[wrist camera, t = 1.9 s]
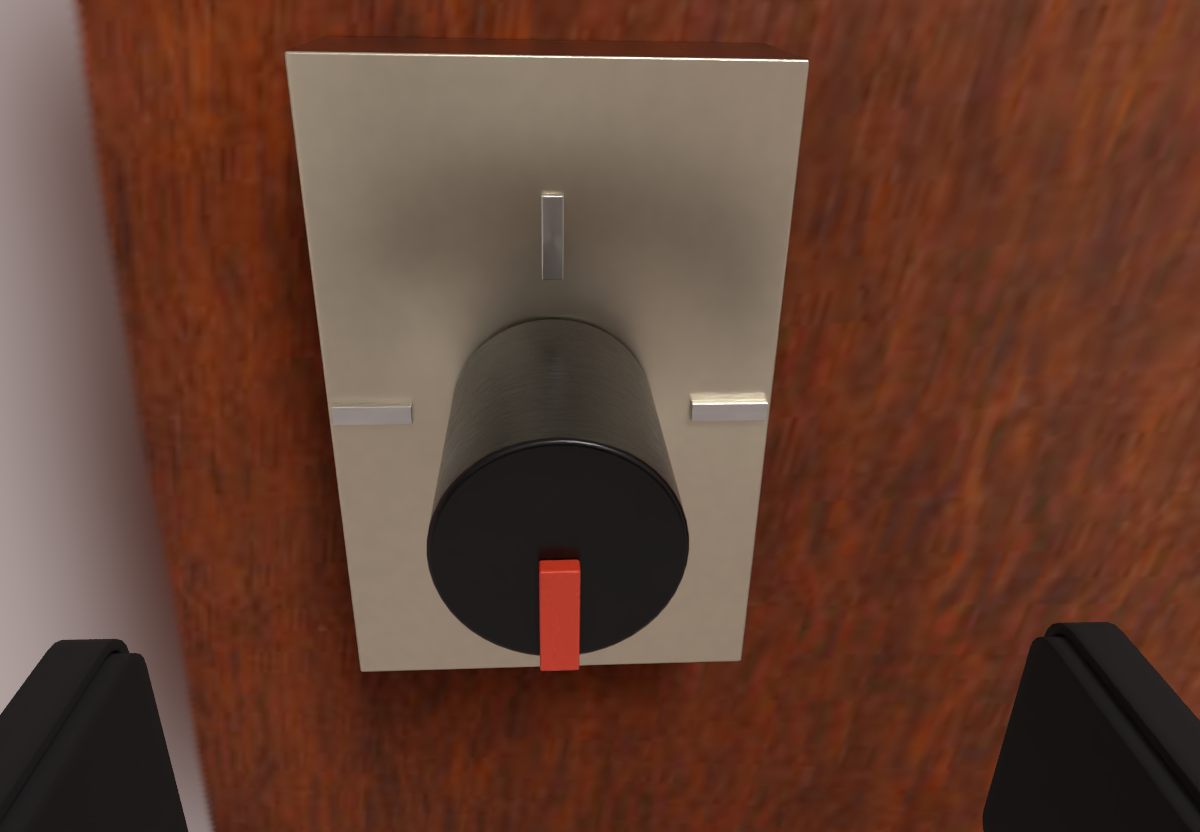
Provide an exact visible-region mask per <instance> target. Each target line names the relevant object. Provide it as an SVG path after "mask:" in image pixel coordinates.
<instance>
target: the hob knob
mask: <svg viewBox="0 0 1200 832" xmlns="http://www.w3.org/2000/svg"><path fill="white" fill-rule="evenodd" d="M688 554H689V532H688V526H687V520H686V517H685V513H684V509H683V506H682V502H681V498H680V495H679V491H678V487H677V484H676V480H675V477H674V473H673V469H672V466H671V462H670V458H669V455H668V451H667V447H666V444H665V440H664V436H663V433H662V429H661V425H660V422H659V418H658V414H657V411H656V407H655V404H654V400H653V396H652V393H651V389H650V386H649V383H648V380H647V377H646V375H645V373H644V371H643V369H642V367H641V365H640V364H639V363H638V361H637V360H636V358H635V357H634V356H633V355H632V353H631V352H630V351H629V350H628V349H627V348H626V347H625V346H624V345H623V344H621V343H620V342H619V341H618V340H617V339H615V338H614V337H612V336H610V335H609V334H607V333H606V332H604V331H601V330H599V329H597V328H595V327H593V326H590V325H586V324H583V323H580V322H575V321H569V320H558V319H548V320H537V321H532V322H527V323H523V324H520V325H517V326H514V327H511V328H509V329H507V330H505V331H503V332H501V333H499V334H497V335H496V336H494V337H493V338H491V339H490V340H488V341H487V342H486V343H485V344H484V345H482V346H481V347H480V348H479V349H478V350H477V351H476V352H475V353H474V354H473V355H472V357H471V358H470V359H469V361H468V362H467V364H466V365H465V366H464V368H463V370H462V372H461V374H460V376H459V378H458V380H457V384H456V387H455V390H454V394H453V400H452V405H451V410H450V416H449V421H448V427H447V432H446V437H445V443H444V448H443V453H442V459H441V464H440V470H439V475H438V480H437V486H436V491H435V497H434V502H433V507H432V513H431V518H430V524H429V529H428V535H427V561H428V568H429V572H430V575H431V578H432V581H433V584H434V586H435V588H436V590H437V592H438V594H439V596H440V598H441V599H442V601H443V602H444V603H445V605H446V606H447V608H448V609H449V611H450V612H451V613H452V614H453V615H454V616H455V617H456V618H457V619H458V620H459V621H460V622H461V623H462V624H463V625H465V626H466V627H467V628H468V629H469V630H471V631H472V632H474V633H475V634H477V635H478V636H480V637H482V638H483V639H485V640H487V641H489V642H491V643H493V644H495V645H497V646H500V647H503V648H506V649H509V650H512V651H516V652H520V653H524V654H529V655H537V656H540V670H541V671H564V670H578V669H579V656H580V654H585V653H591V652H594V651H598V650H601V649H604V648H607V647H610V646H612V645H615V644H617V643H619V642H622V641H623V640H625V639H627V638H629V637H631V636H633V635H634V634H636V633H637V632H639V631H640V630H641V629H643V628H644V627H646V626H647V625H648V624H649V623H650V622H652V621H653V620H654V619H655V618H656V617H657V616H658V615H659V614H660V613H661V612H662V610H663V609H664V608H665V607H666V606H667V605H668V603H669V602H670V600H671V599H672V597H673V596H674V594H675V593H676V591H677V588H678V586H679V584H680V582H681V580H682V578H683V575H684V572H685V569H686V566H687V561H688Z"/></svg>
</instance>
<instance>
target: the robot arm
mask: <svg viewBox="0 0 1200 832" xmlns="http://www.w3.org/2000/svg"><path fill="white" fill-rule="evenodd" d="M983 830H984V832H1200V721H1199V719H1198V718H1197V717H1196V716H1195V715H1194V714H1193V712H1192V711H1191V710H1190V709H1189V708H1188V707H1187V706H1186V704H1185V703H1184V702H1183V701H1182V700H1181V699H1180V697H1179V696H1178V695H1177V694H1176V693H1175V692H1174V691H1173V689H1172V688H1171V687H1170V686H1169V685H1168V684H1167V683H1166V681H1165V680H1164V679H1163V678H1162V677H1161V676H1160V674H1159V673H1158V672H1157V671H1156V670H1155V669H1154V668H1153V666H1152V665H1151V664H1150V663H1149V662H1148V661H1147V659H1146V658H1145V657H1144V656H1143V655H1142V654H1141V653H1140V651H1139V650H1138V649H1137V648H1136V647H1135V646H1134V645H1133V643H1132V642H1131V641H1130V640H1129V639H1128V638H1127V636H1126V635H1125V634H1124V633H1123V632H1122V631H1121V630H1120V629H1119V628H1118V627H1117V626H1115V625H1114V624H1111V623H1108V622H1084V623H1056V624H1052V625H1051V626H1050V627H1049V628H1048V629H1047V631H1046V633H1045V636H1044V637H1039V638H1036V639H1035V640H1034V641H1033V642H1032V645H1031V647H1030V650H1029V654H1028V657H1027V661H1026V664H1025V668H1024V671H1023V674H1022V678H1021V681H1020V685H1019V688H1018V692H1017V695H1016V699H1015V702H1014V706H1013V709H1012V713H1011V716H1010V720H1009V723H1008V727H1007V730H1006V734H1005V737H1004V741H1003V744H1002V748H1001V751H1000V755H999V758H998V762H997V765H996V769H995V772H994V776H993V779H992V783H991V786H990V790H989V793H988V797H987V800H986V804H985V807H984V812H983ZM0 832H188V829H187V825H186V820H185V817H184V813H183V809H182V805H181V801H180V797H179V793H178V789H177V785H176V781H175V777H174V773H173V769H172V765H171V761H170V757H169V753H168V749H167V745H166V741H165V737H164V734H163V729H162V725H161V722H160V717H159V714H158V709H157V705H156V701H155V698H154V694H153V690H152V686H151V682H150V678H149V674H148V670H147V666H146V663H145V660H144V658H143V657H142V656H141V655H140V654H137V653H129V651H128V648H127V646H126V644H125V643H124V642H123V641H122V640H118V639H93V640H92V639H89V640H61V641H58V642H56V643H54V645H52V647H51V648H50V649H49V650H48V651H47V652H46V653H45V655H44V656H43V658H42V659H41V660H40V662H39V663H38V664H37V666H36V667H35V668H34V670H33V671H32V672H31V674H30V675H29V677H28V678H27V679H26V681H25V682H24V683H23V685H22V686H21V687H20V689H19V690H18V691H17V693H16V694H15V696H14V697H13V698H12V700H11V701H10V702H9V704H8V705H7V706H6V708H5V709H4V711H3V712H2V713H1V715H0Z"/></svg>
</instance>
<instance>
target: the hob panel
mask: <svg viewBox="0 0 1200 832" xmlns="http://www.w3.org/2000/svg"><path fill="white" fill-rule="evenodd" d="M284 56H285V65H286V73H287V81H288V89H289V97H290V105H291V113H292V121H293V129H294V137H295V145H296V153H297V162H298V170H299V178H300V186H301V194H302V202H303V210H304V218H305V226H306V234H307V242H308V251H309V259H310V267H311V275H312V283H313V291H314V299H315V307H316V315H317V323H318V331H319V339H320V348H321V356H322V364H323V372H324V380H325V388H326V396H327V404H328V412H329V420H330V428H331V437H332V445H333V453H334V461H335V469H336V477H337V485H338V493H339V501H340V509H341V517H342V525H343V534H344V542H345V550H346V558H347V566H348V574H349V582H350V590H351V598H352V606H353V614H354V623H355V631H356V639H357V647H358V655H359V663H360V670H361V671H362V672H374V671H409V670H443V669H478V668H513V667H540V656H537V655H529V654H524V653H520V652H516V651H512V650H509V649H506V648H503V647H500V646H497V645H495V644H493V643H491V642H489V641H487V640H485V639H483V638H482V637H480V636H478V635H477V634H475V633H474V632H472V631H471V630H469V629H468V628H467V627H466V626H465V625H463V624H462V623H461V622H460V621H459V620H458V619H457V618H456V617H455V616H454V615H453V614H452V613H451V612H450V611H449V609H448V608H447V606H446V605H445V603H444V602H443V601H442V599H441V598H440V596H439V594H438V592H437V590H436V588H435V586H434V584H433V581H432V578H431V575H430V572H429V568H428V561H427V535H428V529H429V524H430V518H431V513H432V507H433V502H434V497H435V491H436V486H437V480H438V475H439V470H440V464H441V459H442V453H443V448H444V443H445V437H446V432H447V427H448V421H449V416H450V410H451V405H452V400H453V394H454V390H455V387H456V384H457V380H458V378H459V376H460V374H461V372H462V370H463V368H464V366H465V365H466V364H467V362H468V361H469V359H470V358H471V357H472V355H473V354H474V353H475V352H476V351H477V350H478V349H479V348H480V347H481V346H482V345H484V344H485V343H486V342H487V341H488V340H490V339H491V338H493V337H494V336H496V335H497V334H499V333H501V332H503V331H505V330H507V329H509V328H511V327H514V326H517V325H520V324H523V323H527V322H532V321H537V320H548V319H558V320H569V321H575V322H580V323H583V324H586V325H590V326H593V327H595V328H597V329H599V330H601V331H604V332H606V333H607V334H609V335H610V336H612V337H614V338H615V339H617V340H618V341H619V342H620V343H621V344H623V345H624V346H625V347H626V348H627V349H628V350H629V351H630V352H631V353H632V355H633V356H634V357H635V358H636V360H637V361H638V363H639V364H640V365H641V367H642V369H643V371H644V373H645V375H646V377H647V380H648V383H649V386H650V389H651V393H652V396H653V400H654V404H655V407H656V411H657V414H658V418H659V422H660V425H661V429H662V433H663V436H664V440H665V444H666V447H667V451H668V455H669V458H670V462H671V466H672V469H673V473H674V477H675V480H676V484H677V487H678V491H679V495H680V498H681V502H682V506H683V509H684V513H685V517H686V520H687V526H688V532H689V554H688V561H687V566H686V569H685V572H684V575H683V578H682V580H681V582H680V584H679V586H678V588H677V591H676V593H675V594H674V596H673V597H672V599H671V600H670V602H669V603H668V605H667V606H666V607H665V608H664V609H663V610H662V612H661V613H660V614H659V615H658V616H657V617H656V618H655V619H654V620H653V621H652V622H650V623H649V624H648V625H647V626H646V627H644V628H643V629H641V630H640V631H639V632H637V633H636V634H634V635H633V636H631V637H629V638H627V639H625V640H623V641H622V642H619V643H617V644H615V645H612V646H610V647H607V648H604V649H601V650H598V651H594V652H591V653H585V654H580V656H579V666H582V665H617V664H652V663H686V662H721V661H741V658H742V650H743V641H744V632H745V624H746V615H747V606H748V597H749V589H750V580H751V571H752V562H753V554H754V545H755V536H756V527H757V519H758V510H759V501H760V492H761V484H762V475H763V466H764V457H765V449H766V440H767V431H768V422H769V414H770V405H771V396H772V387H773V379H774V370H775V361H776V352H777V344H778V335H779V326H780V317H781V309H782V300H783V291H784V282H785V274H786V265H787V256H788V247H789V239H790V230H791V221H792V212H793V204H794V195H795V186H796V177H797V169H798V160H799V151H800V143H801V134H802V125H803V116H804V108H805V99H806V90H807V81H808V73H809V64H810V62H809V59H806V58H804V57H801V56H798V55H795V54H792V53H789V52H787V51H784V50H781V49H778V48H775V47H772V46H770V45H767V44H750V43H692V42H633V41H575V40H517V39H459V38H400V37H342V36H326V37H323V38H320V39H317V40H315V41H312V42H309V43H306V44H303V45H301V46H298V47H295V48H292V49H289V50H287V51H285V53H284Z"/></svg>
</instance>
